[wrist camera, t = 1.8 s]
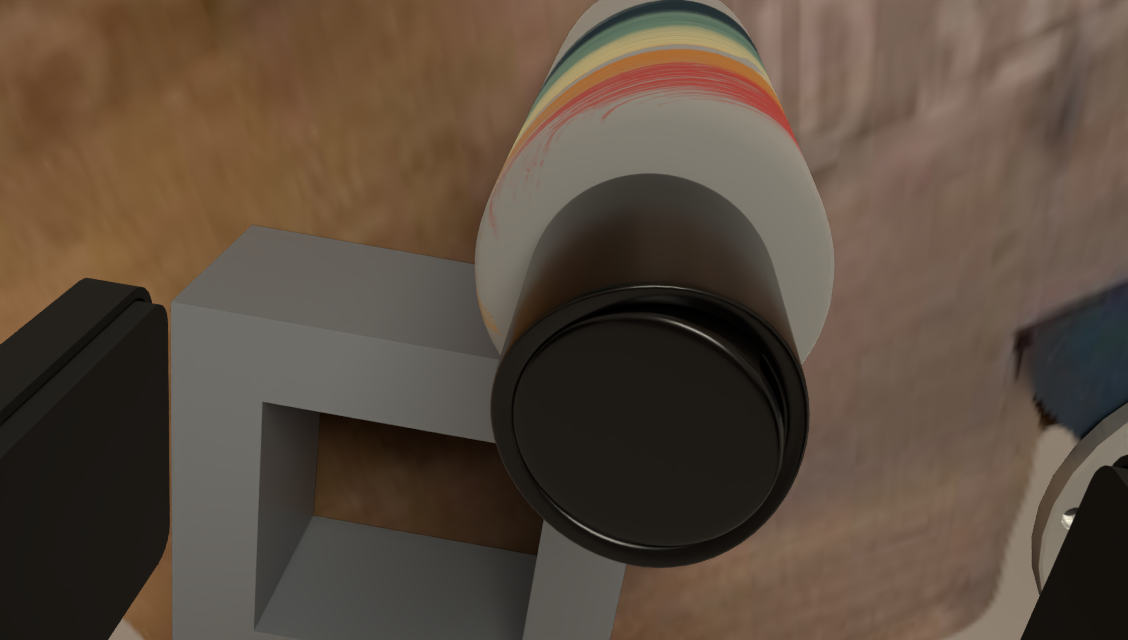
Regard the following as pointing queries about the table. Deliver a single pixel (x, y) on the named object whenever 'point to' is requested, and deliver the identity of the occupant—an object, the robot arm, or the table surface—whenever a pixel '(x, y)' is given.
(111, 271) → the table surface
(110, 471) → the robot arm
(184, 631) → the sleeve
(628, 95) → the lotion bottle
